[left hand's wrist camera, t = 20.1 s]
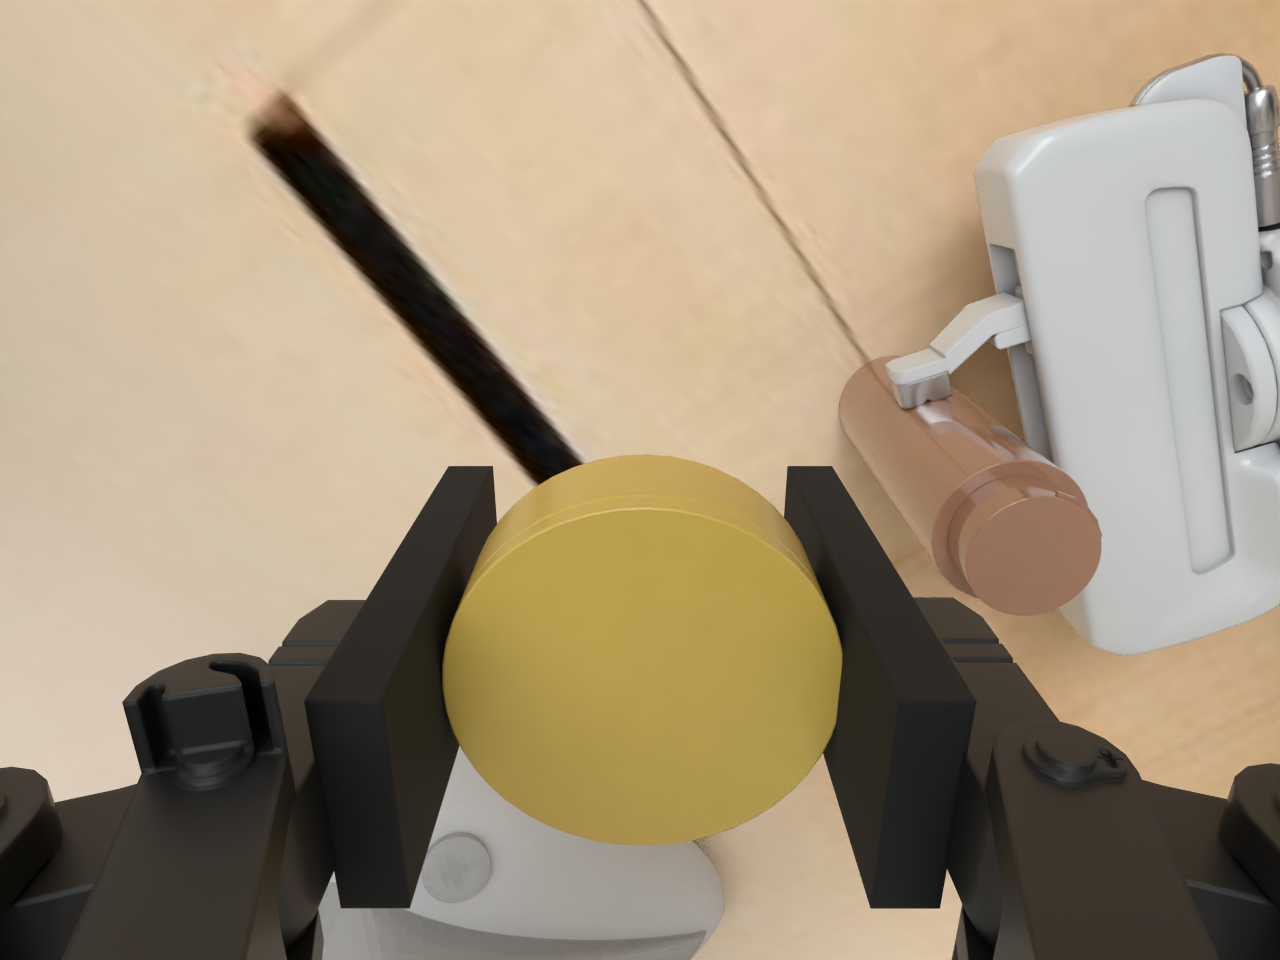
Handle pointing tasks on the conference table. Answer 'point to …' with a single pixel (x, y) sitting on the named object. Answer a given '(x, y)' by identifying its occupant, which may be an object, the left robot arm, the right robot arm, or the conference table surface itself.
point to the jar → (975, 496)
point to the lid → (642, 654)
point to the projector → (531, 893)
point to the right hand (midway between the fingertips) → (910, 460)
